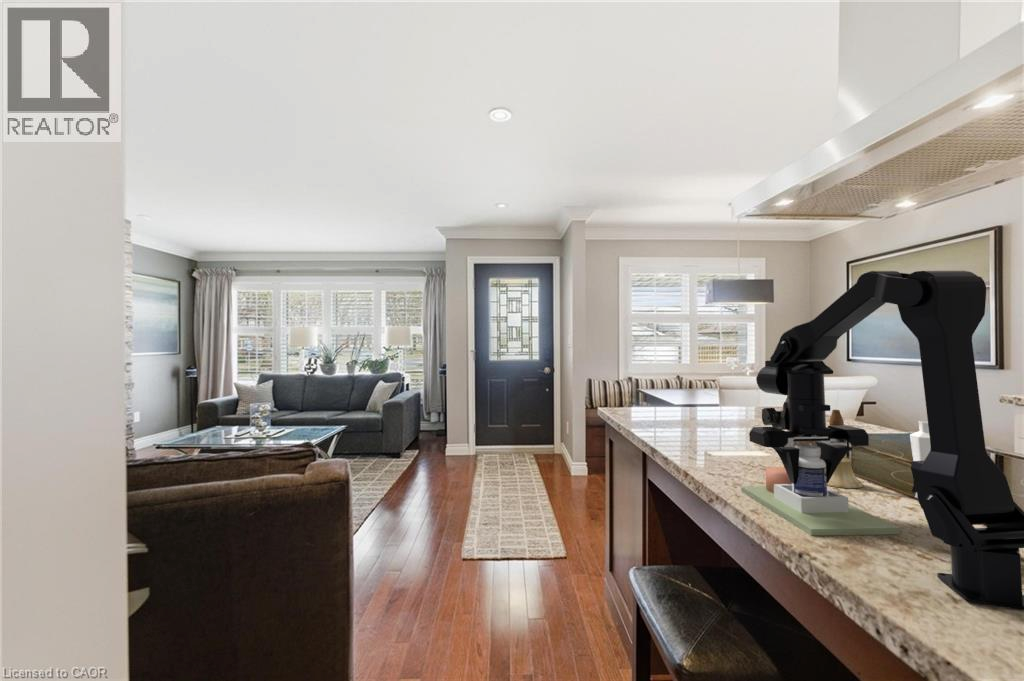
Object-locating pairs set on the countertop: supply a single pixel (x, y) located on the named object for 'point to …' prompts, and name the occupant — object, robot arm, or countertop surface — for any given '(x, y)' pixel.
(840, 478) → the hand bell
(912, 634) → the countertop surface
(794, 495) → the green board with tray
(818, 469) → the pill bottle
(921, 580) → the countertop surface
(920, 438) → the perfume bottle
